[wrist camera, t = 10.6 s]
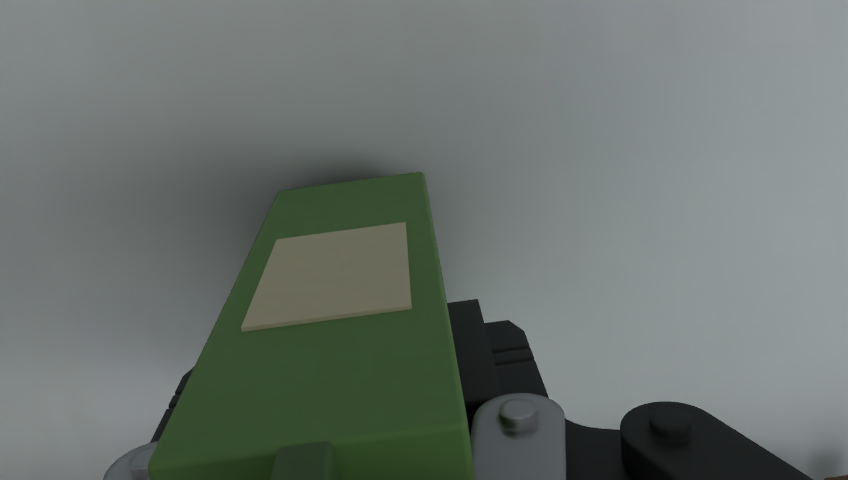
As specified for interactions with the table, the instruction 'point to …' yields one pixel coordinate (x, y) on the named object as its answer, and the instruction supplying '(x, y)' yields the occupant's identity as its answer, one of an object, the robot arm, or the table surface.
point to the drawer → (838, 478)
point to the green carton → (329, 350)
